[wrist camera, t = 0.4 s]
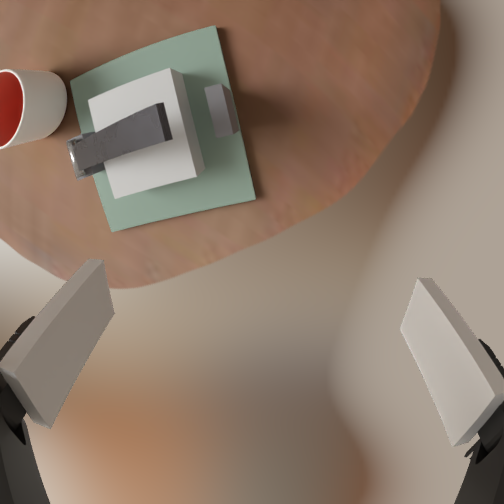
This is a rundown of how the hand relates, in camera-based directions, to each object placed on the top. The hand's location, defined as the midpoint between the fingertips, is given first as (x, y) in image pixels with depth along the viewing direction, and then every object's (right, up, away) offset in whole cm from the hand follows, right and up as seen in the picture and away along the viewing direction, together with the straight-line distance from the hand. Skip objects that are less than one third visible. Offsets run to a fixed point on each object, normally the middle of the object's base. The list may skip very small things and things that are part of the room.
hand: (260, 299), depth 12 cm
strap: (-13, +12, +14) cm, 23 cm away
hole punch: (-12, +17, +23) cm, 31 cm away
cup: (-30, +23, +21) cm, 43 cm away
